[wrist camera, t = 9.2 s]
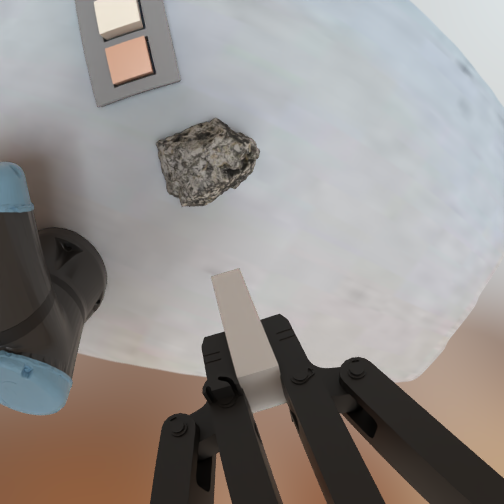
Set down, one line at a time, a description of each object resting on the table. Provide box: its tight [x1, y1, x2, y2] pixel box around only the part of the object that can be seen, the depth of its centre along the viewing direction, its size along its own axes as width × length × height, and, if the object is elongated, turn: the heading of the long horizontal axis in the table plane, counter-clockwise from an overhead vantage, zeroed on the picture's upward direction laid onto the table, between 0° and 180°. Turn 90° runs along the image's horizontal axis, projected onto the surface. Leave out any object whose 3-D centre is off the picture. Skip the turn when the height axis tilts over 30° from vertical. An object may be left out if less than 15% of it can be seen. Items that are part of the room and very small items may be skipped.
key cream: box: [94, 0, 143, 40], centre depth 23 cm, size 4×4×4 cm
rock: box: [156, 118, 260, 207], centre depth 36 cm, size 13×10×10 cm
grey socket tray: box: [75, 0, 181, 107], centre depth 24 cm, size 10×26×3 cm, turn 11°
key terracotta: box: [105, 36, 154, 85], centre depth 28 cm, size 4×4×4 cm
